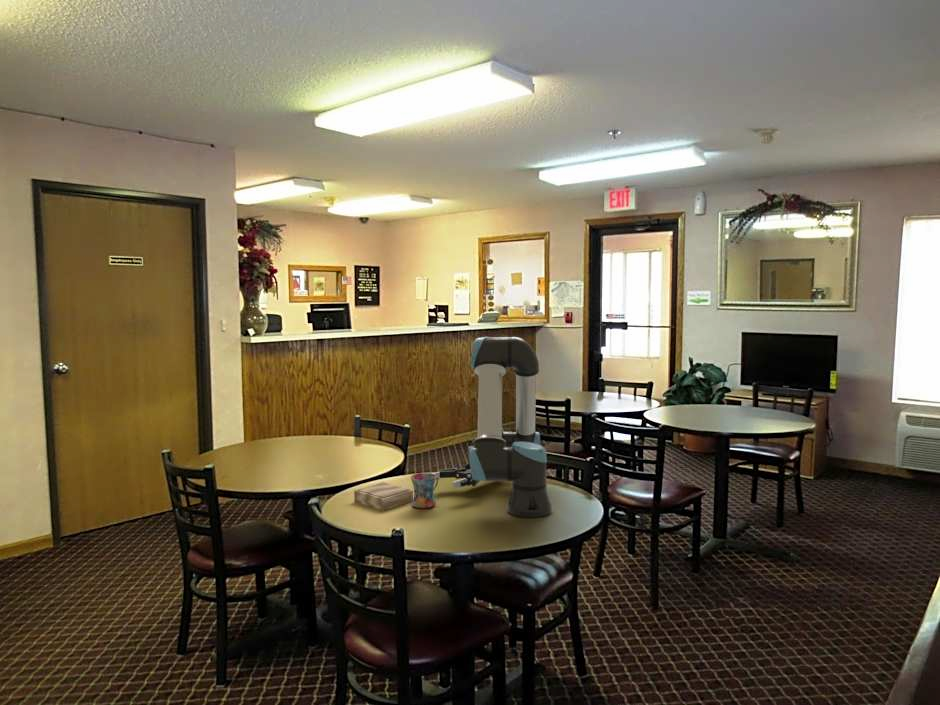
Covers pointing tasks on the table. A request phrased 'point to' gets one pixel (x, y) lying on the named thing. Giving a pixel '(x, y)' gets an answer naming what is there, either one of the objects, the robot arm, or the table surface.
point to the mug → (424, 489)
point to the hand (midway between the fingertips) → (439, 482)
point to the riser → (383, 496)
